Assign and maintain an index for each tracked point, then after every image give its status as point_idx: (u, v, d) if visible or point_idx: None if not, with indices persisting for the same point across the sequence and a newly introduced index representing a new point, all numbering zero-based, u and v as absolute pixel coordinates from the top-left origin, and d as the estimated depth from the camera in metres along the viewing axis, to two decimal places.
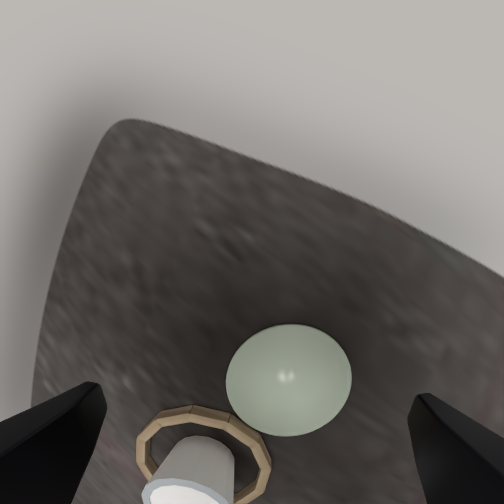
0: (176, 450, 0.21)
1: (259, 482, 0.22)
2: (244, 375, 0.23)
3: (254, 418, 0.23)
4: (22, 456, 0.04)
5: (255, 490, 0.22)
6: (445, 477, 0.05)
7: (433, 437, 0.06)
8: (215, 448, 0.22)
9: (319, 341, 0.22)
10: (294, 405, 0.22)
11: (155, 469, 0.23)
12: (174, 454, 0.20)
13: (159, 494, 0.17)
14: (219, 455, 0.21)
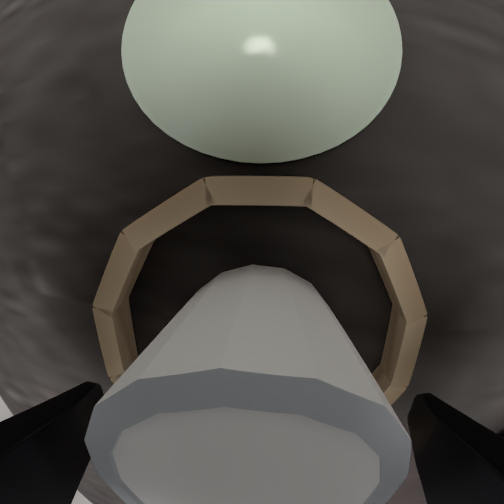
0: None
1: (401, 293, 0.09)
2: (163, 70, 0.09)
3: (259, 135, 0.09)
4: (22, 456, 0.04)
5: (409, 323, 0.10)
6: (445, 477, 0.05)
7: (433, 437, 0.06)
8: (239, 276, 0.10)
9: None
10: (307, 51, 0.08)
11: None
12: None
13: (143, 485, 0.05)
14: (252, 280, 0.09)
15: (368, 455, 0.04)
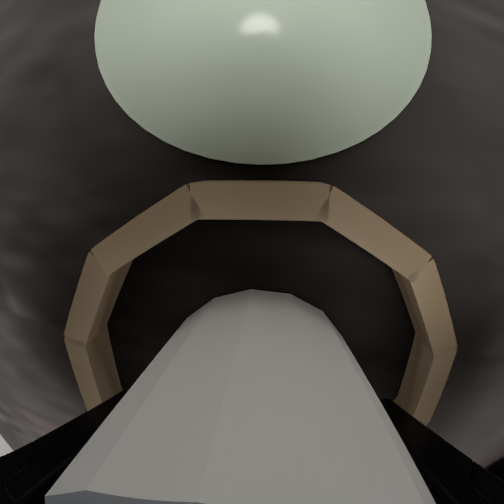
0: None
1: (431, 325, 0.07)
2: (142, 51, 0.07)
3: (260, 129, 0.07)
4: None
5: (436, 358, 0.07)
6: None
7: None
8: (234, 308, 0.08)
9: None
10: (319, 26, 0.06)
11: None
12: None
13: None
14: (251, 317, 0.07)
15: None
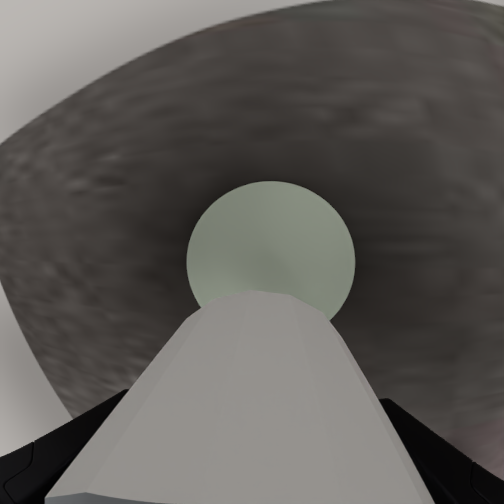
0: None
1: None
2: (215, 292, 0.18)
3: None
4: None
5: None
6: None
7: None
8: (234, 309, 0.07)
9: (259, 194, 0.17)
10: (296, 286, 0.18)
11: None
12: None
13: None
14: (250, 318, 0.07)
15: None
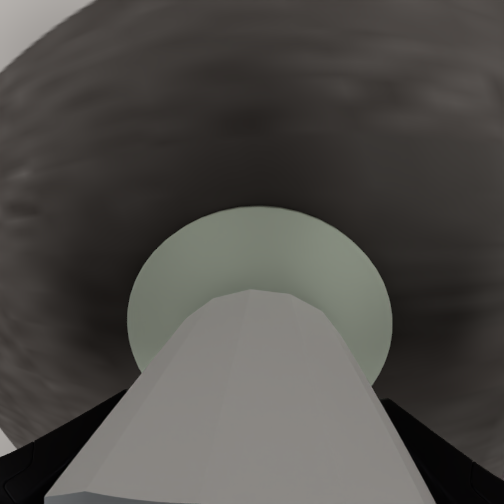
0: None
1: None
2: None
3: None
4: None
5: None
6: None
7: None
8: (234, 308, 0.07)
9: (235, 231, 0.10)
10: None
11: None
12: None
13: None
14: (250, 318, 0.07)
15: None
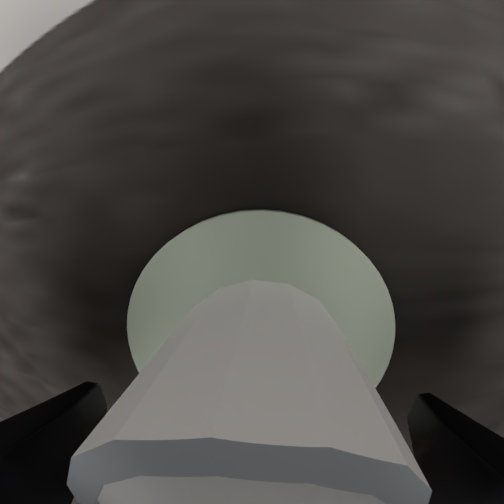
0: None
1: None
2: None
3: None
4: (22, 456, 0.04)
5: None
6: (445, 477, 0.05)
7: (433, 437, 0.06)
8: (238, 295, 0.08)
9: (236, 235, 0.09)
10: None
11: None
12: None
13: None
14: (252, 302, 0.08)
15: None
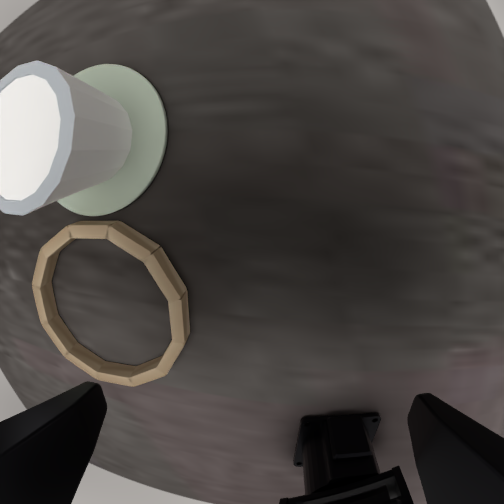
0: None
1: (159, 284, 0.18)
2: None
3: (92, 202, 0.18)
4: (22, 456, 0.04)
5: (170, 302, 0.18)
6: (445, 477, 0.05)
7: (433, 437, 0.06)
8: None
9: (85, 77, 0.15)
10: None
11: (90, 356, 0.21)
12: None
13: None
14: None
15: (52, 95, 0.09)
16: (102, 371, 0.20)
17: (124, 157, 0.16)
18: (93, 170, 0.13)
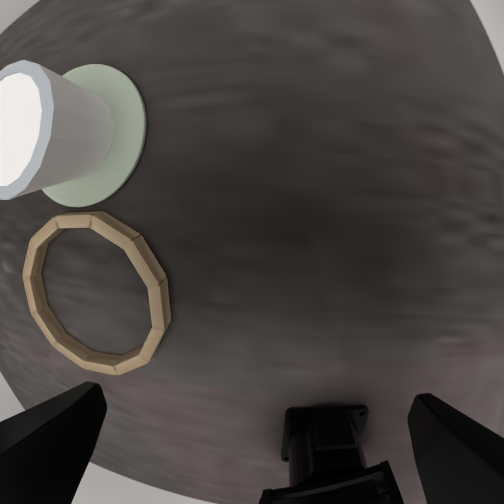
0: None
1: (139, 270, 0.18)
2: None
3: (78, 194, 0.18)
4: (22, 457, 0.04)
5: (149, 288, 0.18)
6: (445, 477, 0.05)
7: (433, 437, 0.06)
8: None
9: (72, 77, 0.16)
10: None
11: (78, 345, 0.21)
12: None
13: None
14: None
15: (35, 89, 0.10)
16: (88, 360, 0.20)
17: (106, 149, 0.17)
18: (74, 159, 0.14)
